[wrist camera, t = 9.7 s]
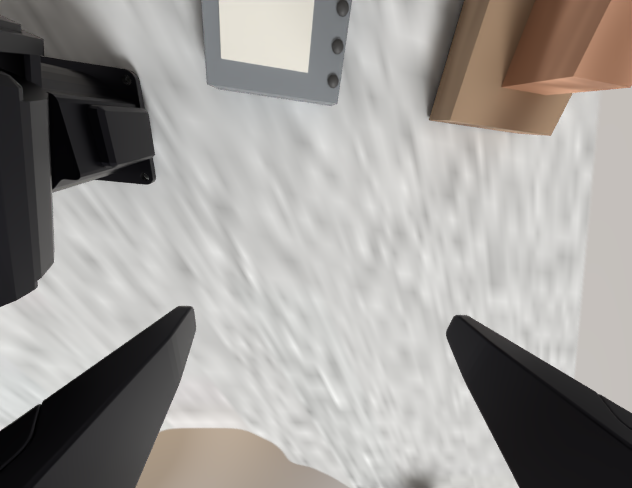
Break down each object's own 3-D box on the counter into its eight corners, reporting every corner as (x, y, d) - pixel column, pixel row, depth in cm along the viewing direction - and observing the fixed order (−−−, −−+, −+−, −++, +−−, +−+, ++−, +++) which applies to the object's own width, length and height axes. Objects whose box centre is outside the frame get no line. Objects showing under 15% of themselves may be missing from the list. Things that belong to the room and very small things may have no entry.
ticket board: (219, 89, 15) (206, 83, 13) (210, -111, 11) (189, -169, 9) (330, 105, 16) (337, 103, 14) (354, -74, 12) (369, -118, 10)
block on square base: (428, 120, 17) (501, 121, 11) (477, -45, 13) (624, -174, 7) (518, 133, 18) (628, 140, 12) (586, -18, 14) (791, -112, 8)
